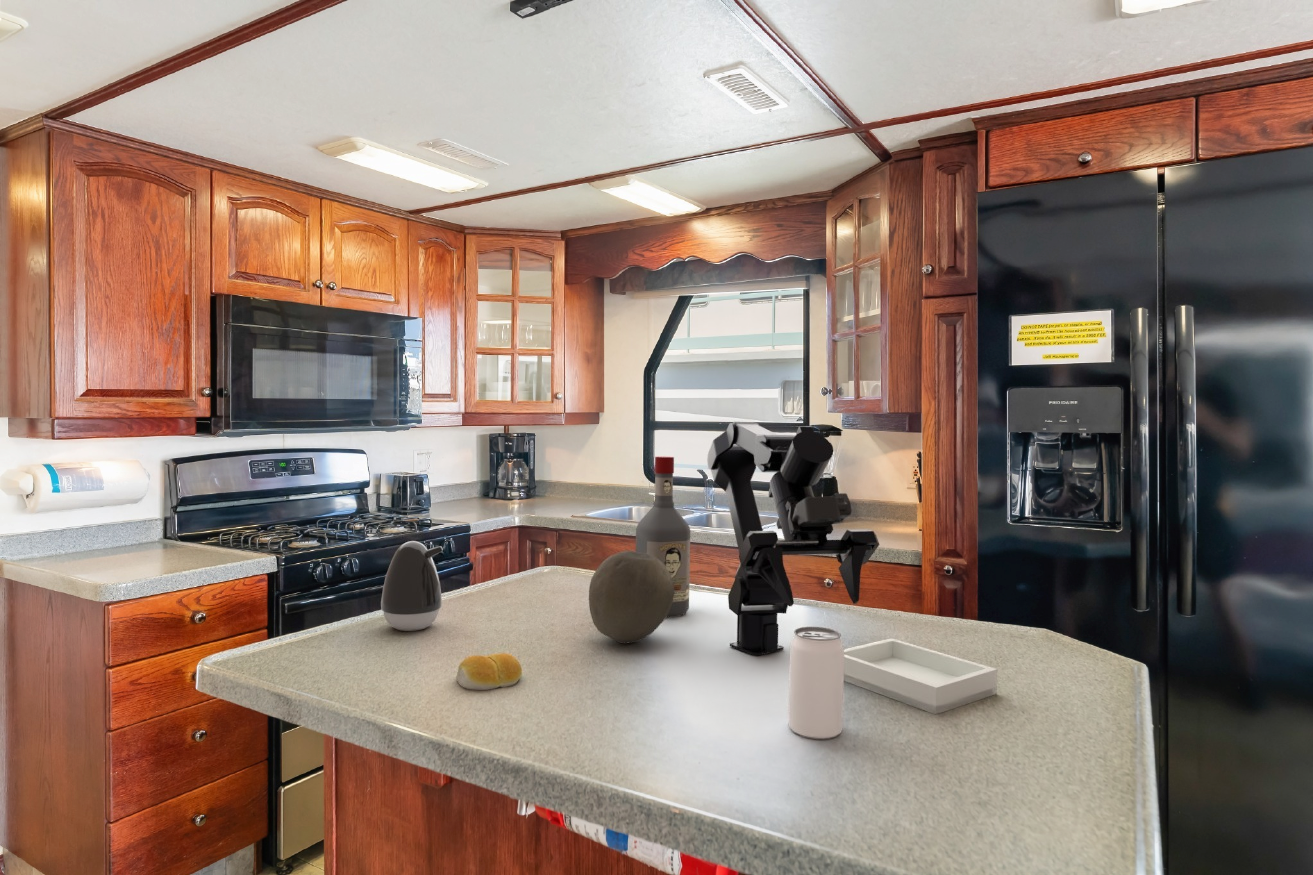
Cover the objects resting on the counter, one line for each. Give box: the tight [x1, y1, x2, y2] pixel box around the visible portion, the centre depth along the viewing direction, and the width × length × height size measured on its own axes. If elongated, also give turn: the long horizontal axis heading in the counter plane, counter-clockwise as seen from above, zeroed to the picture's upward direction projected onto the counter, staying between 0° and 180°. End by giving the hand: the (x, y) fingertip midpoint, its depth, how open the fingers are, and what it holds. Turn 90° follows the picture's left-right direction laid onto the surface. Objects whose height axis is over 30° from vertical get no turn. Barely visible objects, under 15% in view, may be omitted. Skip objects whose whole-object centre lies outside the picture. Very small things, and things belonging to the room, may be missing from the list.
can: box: [788, 626, 845, 740], centre depth 97 cm, size 6×6×12 cm
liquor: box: [635, 456, 691, 618], centre depth 154 cm, size 9×9×30 cm
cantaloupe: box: [588, 550, 674, 644], centre depth 134 cm, size 14×14×15 cm
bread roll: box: [455, 652, 523, 691], centre depth 114 cm, size 8×9×4 cm
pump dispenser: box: [380, 540, 444, 632], centre depth 140 cm, size 10×10×15 cm
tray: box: [844, 638, 998, 715], centre depth 115 cm, size 18×14×4 cm
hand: (824, 603), depth 105 cm, fingers open, 9 cm apart
